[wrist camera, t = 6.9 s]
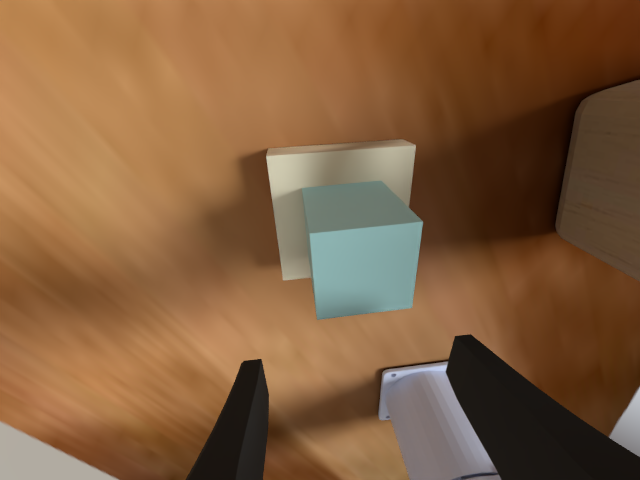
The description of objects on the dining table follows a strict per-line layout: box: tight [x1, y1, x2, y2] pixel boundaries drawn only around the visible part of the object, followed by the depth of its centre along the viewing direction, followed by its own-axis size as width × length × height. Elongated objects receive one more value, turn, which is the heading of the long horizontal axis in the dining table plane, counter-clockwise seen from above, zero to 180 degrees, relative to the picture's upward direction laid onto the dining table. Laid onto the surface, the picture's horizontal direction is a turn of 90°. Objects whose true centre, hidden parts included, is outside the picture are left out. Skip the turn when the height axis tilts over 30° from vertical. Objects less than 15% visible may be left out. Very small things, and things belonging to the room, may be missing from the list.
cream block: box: [266, 139, 416, 280], centre depth 18 cm, size 8×8×2 cm
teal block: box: [302, 181, 423, 320], centre depth 14 cm, size 4×4×6 cm
